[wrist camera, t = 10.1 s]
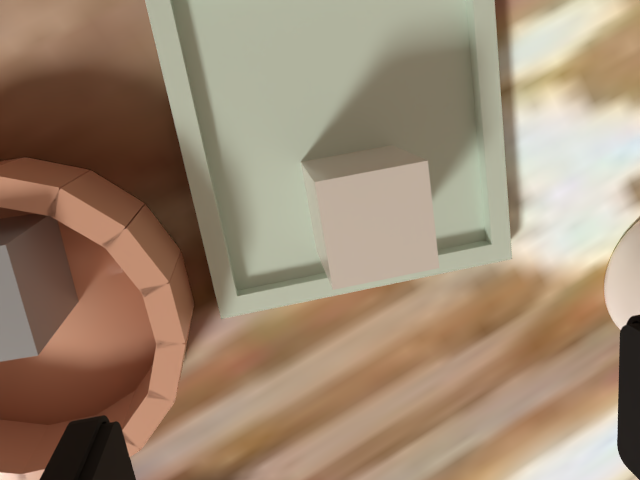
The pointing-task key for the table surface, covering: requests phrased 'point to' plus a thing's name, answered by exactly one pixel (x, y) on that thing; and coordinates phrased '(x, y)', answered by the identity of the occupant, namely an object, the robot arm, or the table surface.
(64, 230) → the bowl
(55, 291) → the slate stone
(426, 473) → the table surface
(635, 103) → the table surface
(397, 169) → the beige block
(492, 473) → the table surface
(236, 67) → the parts tray
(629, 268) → the mug
